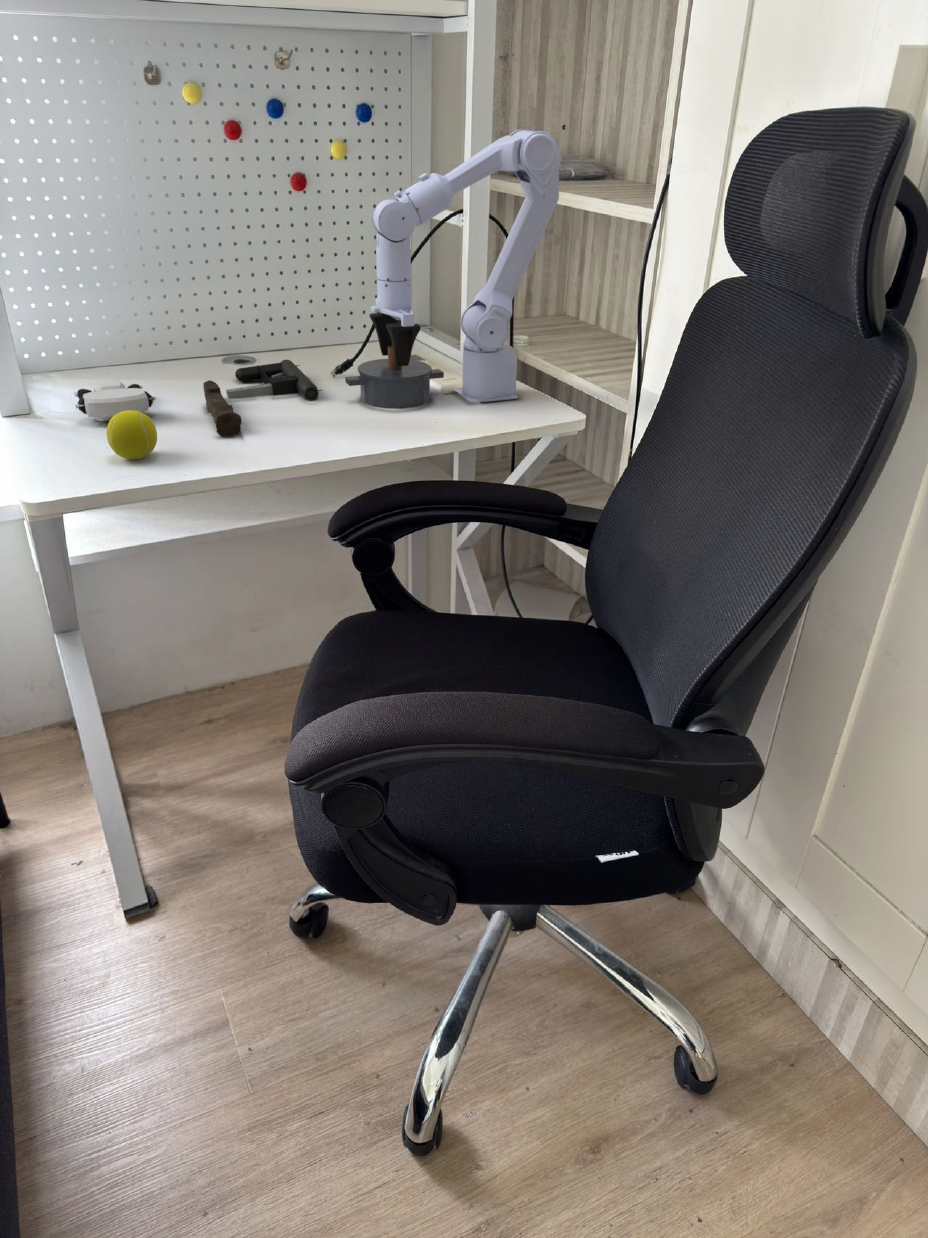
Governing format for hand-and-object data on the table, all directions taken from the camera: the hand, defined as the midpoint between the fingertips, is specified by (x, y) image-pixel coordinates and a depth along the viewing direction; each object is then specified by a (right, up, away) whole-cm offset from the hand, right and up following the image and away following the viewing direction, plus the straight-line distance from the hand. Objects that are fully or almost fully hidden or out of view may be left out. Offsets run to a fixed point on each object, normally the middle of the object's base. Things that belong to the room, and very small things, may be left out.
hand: (395, 360), depth 160 cm
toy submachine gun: (-24, -4, +7) cm, 25 cm away
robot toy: (-47, -11, -6) cm, 48 cm away
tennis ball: (-37, -22, -24) cm, 49 cm away
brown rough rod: (-29, -13, -8) cm, 33 cm away
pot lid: (0, -2, +1) cm, 2 cm away
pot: (0, -6, +4) cm, 7 cm away
